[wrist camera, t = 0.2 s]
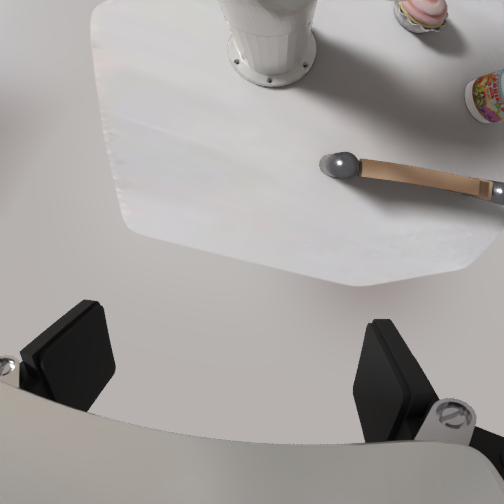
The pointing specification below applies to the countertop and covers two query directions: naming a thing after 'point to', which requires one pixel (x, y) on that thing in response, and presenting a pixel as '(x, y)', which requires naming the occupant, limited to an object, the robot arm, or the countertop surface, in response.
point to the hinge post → (340, 165)
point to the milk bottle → (486, 97)
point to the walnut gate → (425, 178)
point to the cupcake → (421, 15)
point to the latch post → (495, 193)
